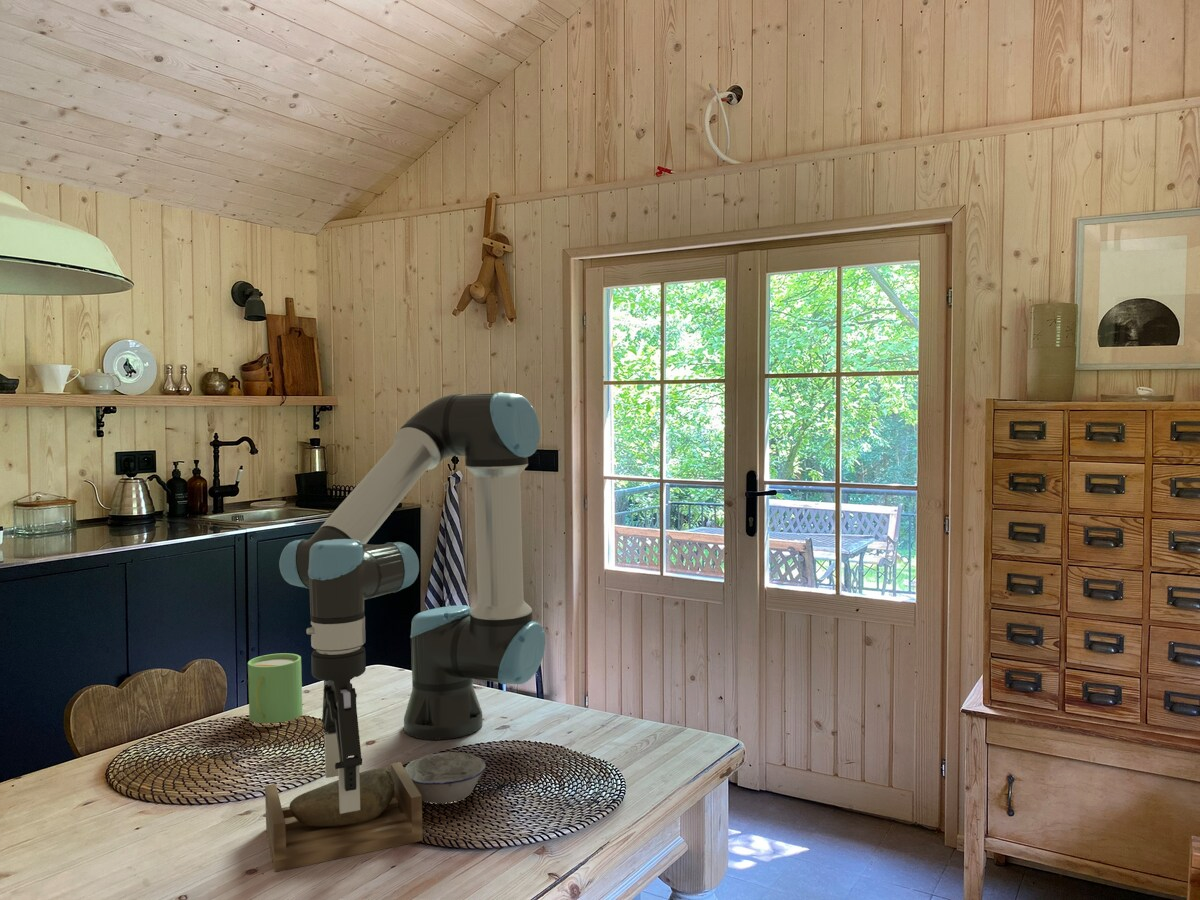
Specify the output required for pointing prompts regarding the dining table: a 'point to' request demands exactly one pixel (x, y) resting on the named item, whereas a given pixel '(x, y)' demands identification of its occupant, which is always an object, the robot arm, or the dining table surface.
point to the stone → (324, 801)
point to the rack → (343, 828)
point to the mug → (275, 688)
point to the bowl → (445, 775)
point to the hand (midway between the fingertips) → (342, 792)
